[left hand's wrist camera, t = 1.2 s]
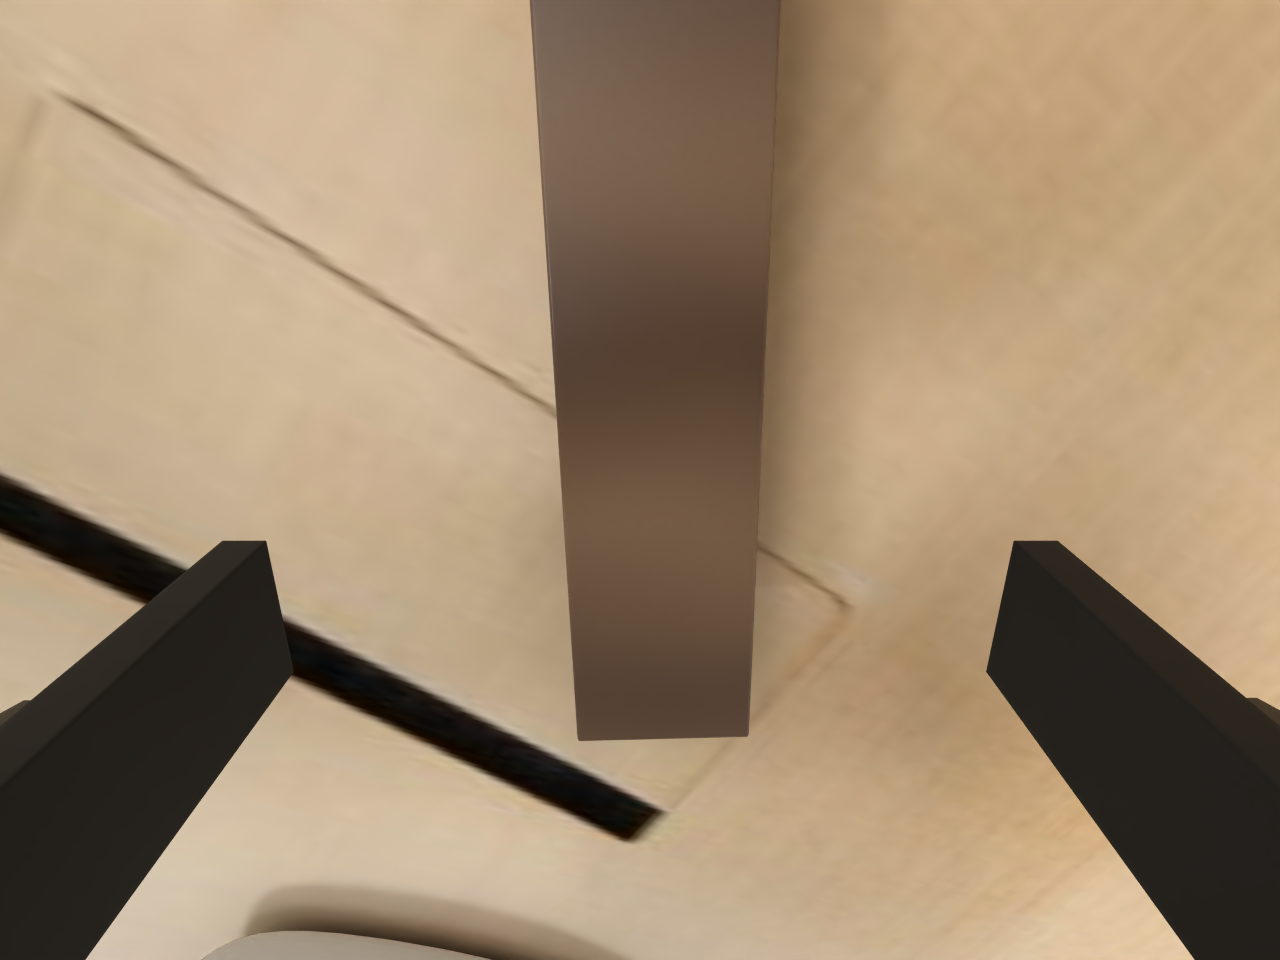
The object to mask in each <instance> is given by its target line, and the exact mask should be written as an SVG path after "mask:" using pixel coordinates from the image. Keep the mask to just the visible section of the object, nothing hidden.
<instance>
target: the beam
mask: <svg viewBox="0 0 1280 960" xmlns="http://www.w3.org/2000/svg"><path fill="white" fill-rule="evenodd" d="M780 3H781V0H530V11H531V26H532V42H533V57H534V73H535V88H536V103H537V119H538V134H539V150H540V165H541V180H542V196H543V211H544V227H545V242H546V258H547V273H548V288H549V304H550V319H551V335H552V350H553V365H554V381H555V396H556V412H557V427H558V443H559V458H560V473H561V489H562V504H563V520H564V535H565V550H566V566H567V581H568V597H569V612H570V627H571V643H572V658H573V674H574V689H575V705H576V720H577V735H578V740H579V741H595V740H635V739H674V738H714V737H747V736H748V734H749V716H750V693H751V670H752V647H753V624H754V601H755V578H756V555H757V532H758V509H759V486H760V463H761V440H762V417H763V394H764V371H765V348H766V325H767V302H768V279H769V256H770V233H771V210H772V187H773V164H774V141H775V118H776V95H777V72H778V49H779V26H780Z"/></svg>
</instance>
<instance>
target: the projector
mask: <svg viewBox="0 0 1280 960" xmlns="http://www.w3.org/2000/svg"><path fill="white" fill-rule="evenodd" d="M202 960H491V959H487V958H482V957H478V956H474V955H469V954H464V953H459V952H455V951H450V950H445V949H440V948H434V947H429V946H423V945H417V944H412V943H406V942H400V941H395V940H389V939H381V938H373V937H365V936H357V935H349V934H341V933H329V932H316V931H277V932H266V933H258V934H254V935H250V936H246V937H243V938H240V939H237V940H234V941H232V942H230V943H228V944H226V945H224V946H222V947H220V948H218V949H216V950H215V951H213V952H212V953H210V954H209V955H207V956H206V957H204V958H203V959H202Z"/></svg>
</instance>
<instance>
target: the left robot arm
mask: <svg viewBox="0 0 1280 960" xmlns="http://www.w3.org/2000/svg"><path fill="white" fill-rule="evenodd" d="M293 672H294V671H293V666H292V661H291V656H290V652H289V647H288V642H287V637H286V633H285V628H284V623H283V619H282V614H281V609H280V604H279V600H278V595H277V590H276V585H275V581H274V576H273V571H272V566H271V562H270V557H269V552H268V547H267V543H266V541H222V542H220V543H219V544H218V545H217V546H216V547H214V548H213V549H212V550H211V551H210V552H208V553H207V554H206V555H205V556H204V557H202V558H201V559H200V560H199V561H198V562H196V563H195V564H194V565H193V566H192V567H190V568H189V569H188V570H187V571H186V572H184V573H183V574H182V575H181V576H180V577H178V578H177V579H176V580H175V581H174V582H172V583H171V584H170V585H169V586H168V587H166V588H165V589H164V590H163V591H162V592H160V593H159V594H158V595H157V596H156V597H154V598H153V599H152V600H151V601H150V602H148V603H147V604H146V605H145V606H144V607H142V608H141V609H140V610H139V611H138V612H136V613H135V614H134V615H133V616H132V617H130V618H129V619H128V620H127V621H126V622H124V623H123V624H122V625H121V626H120V627H118V628H117V629H116V630H115V631H114V632H112V633H111V634H110V635H109V636H108V637H106V638H105V639H104V640H103V641H102V642H100V643H99V644H98V645H97V646H96V647H94V648H93V649H92V650H91V651H90V652H88V653H87V654H86V655H85V656H84V657H82V658H81V659H80V660H79V661H78V662H76V663H75V664H74V665H73V666H72V667H70V668H69V669H68V670H67V671H66V672H64V673H63V674H62V675H61V676H60V677H58V678H57V679H56V680H55V681H54V682H52V683H51V684H50V685H49V686H48V687H46V688H45V689H44V690H43V691H42V692H40V693H39V694H38V695H37V696H36V697H34V698H33V699H32V700H24V701H22V702H20V703H18V704H17V705H15V706H13V707H11V708H9V709H7V710H6V711H4V712H2V713H0V960H85V959H86V958H87V957H88V955H89V954H90V953H91V951H92V950H93V948H94V947H95V946H96V944H97V943H98V941H99V940H100V939H101V937H102V936H103V935H104V933H105V932H106V930H107V929H108V928H109V926H110V925H111V924H112V922H113V921H114V919H115V918H116V917H117V915H118V914H119V912H120V911H121V910H122V908H123V907H124V906H125V904H126V903H127V901H128V900H129V899H130V897H131V896H132V894H133V893H134V892H135V890H136V889H137V888H138V886H139V885H140V883H141V882H142V881H143V879H144V878H145V877H146V875H147V874H148V872H149V871H150V870H151V868H152V867H153V865H154V864H155V863H156V861H157V860H158V859H159V857H160V856H161V854H162V853H163V852H164V850H165V849H166V847H167V846H168V845H169V843H170V842H171V841H172V839H173V838H174V836H175V835H176V834H177V832H178V831H179V830H180V828H181V827H182V825H183V824H184V823H185V821H186V820H187V818H188V817H189V816H190V814H191V813H192V812H193V810H194V809H195V807H196V806H197V805H198V803H199V802H200V800H201V799H202V798H203V796H204V795H205V794H206V792H207V791H208V789H209V788H210V787H211V785H212V784H213V783H214V781H215V780H216V778H217V777H218V776H219V774H220V773H221V771H222V770H223V769H224V767H225V766H226V765H227V763H228V762H229V760H230V759H231V758H232V756H233V755H234V753H235V752H236V751H237V749H238V748H239V747H240V745H241V744H242V742H243V741H244V740H245V738H246V737H247V736H248V734H249V733H250V731H251V730H252V729H253V727H254V726H255V724H256V723H257V722H258V720H259V719H260V718H261V716H262V715H263V713H264V712H265V711H266V709H267V708H268V706H269V705H270V704H271V702H272V701H273V700H274V698H275V697H276V695H277V694H278V693H279V691H280V690H281V689H282V687H283V686H284V684H285V683H286V682H287V680H288V679H289V677H290V676H291V675H292V673H293ZM986 672H987V673H988V675H989V676H990V677H991V679H992V680H993V682H994V683H995V684H996V686H997V687H998V689H999V690H1000V691H1001V693H1002V694H1003V695H1004V697H1005V698H1006V700H1007V701H1008V702H1009V704H1010V705H1011V706H1012V708H1013V709H1014V711H1015V712H1016V713H1017V715H1018V716H1019V718H1020V719H1021V720H1022V722H1023V723H1024V724H1025V726H1026V727H1027V729H1028V730H1029V731H1030V733H1031V734H1032V736H1033V737H1034V738H1035V740H1036V741H1037V742H1038V744H1039V745H1040V747H1041V748H1042V749H1043V751H1044V752H1045V753H1046V755H1047V756H1048V758H1049V759H1050V760H1051V762H1052V763H1053V765H1054V766H1055V767H1056V769H1057V770H1058V771H1059V773H1060V774H1061V776H1062V777H1063V778H1064V780H1065V781H1066V783H1067V784H1068V785H1069V787H1070V788H1071V789H1072V791H1073V792H1074V794H1075V795H1076V796H1077V798H1078V799H1079V800H1080V802H1081V803H1082V805H1083V806H1084V807H1085V809H1086V810H1087V812H1088V813H1089V814H1090V816H1091V817H1092V818H1093V820H1094V821H1095V823H1096V824H1097V825H1098V827H1099V828H1100V830H1101V831H1102V832H1103V834H1104V835H1105V836H1106V838H1107V839H1108V841H1109V842H1110V843H1111V845H1112V846H1113V847H1114V849H1115V850H1116V852H1117V853H1118V854H1119V856H1120V857H1121V859H1122V860H1123V861H1124V863H1125V864H1126V865H1127V867H1128V868H1129V870H1130V871H1131V872H1132V874H1133V875H1134V877H1135V878H1136V879H1137V881H1138V882H1139V883H1140V885H1141V886H1142V888H1143V889H1144V890H1145V892H1146V893H1147V894H1148V896H1149V897H1150V899H1151V900H1152V901H1153V903H1154V904H1155V906H1156V907H1157V908H1158V910H1159V911H1160V912H1161V914H1162V915H1163V917H1164V918H1165V919H1166V921H1167V922H1168V924H1169V925H1170V926H1171V928H1172V929H1173V930H1174V932H1175V933H1176V935H1177V936H1178V937H1179V939H1180V940H1181V941H1182V943H1183V944H1184V946H1185V947H1186V948H1187V950H1188V951H1189V953H1190V954H1191V955H1192V957H1193V958H1194V959H1195V960H1280V710H1278V709H1276V708H1275V707H1273V706H1271V705H1269V704H1267V703H1265V702H1263V701H1262V700H1260V699H1258V698H1246V697H1244V696H1243V695H1242V694H1241V693H1240V692H1238V691H1237V690H1236V689H1235V688H1234V687H1232V686H1231V685H1230V684H1229V683H1228V682H1226V681H1225V680H1224V679H1223V678H1222V677H1220V676H1219V675H1218V674H1217V673H1216V672H1214V671H1213V670H1212V669H1211V668H1210V667H1208V666H1207V665H1206V664H1205V663H1204V662H1202V661H1201V660H1200V659H1199V658H1198V657H1196V656H1195V655H1194V654H1193V653H1192V652H1190V651H1189V650H1188V649H1187V648H1186V647H1184V646H1183V645H1182V644H1181V643H1180V642H1178V641H1177V640H1176V639H1175V638H1174V637H1172V636H1171V635H1170V634H1169V633H1168V632H1166V631H1165V630H1164V629H1163V628H1162V627H1160V626H1159V625H1158V624H1157V623H1156V622H1154V621H1153V620H1152V619H1151V618H1150V617H1148V616H1147V615H1146V614H1145V613H1144V612H1142V611H1141V610H1140V609H1139V608H1138V607H1136V606H1135V605H1134V604H1133V603H1132V602H1130V601H1129V600H1128V599H1127V598H1126V597H1124V596H1123V595H1122V594H1121V593H1120V592H1118V591H1117V590H1116V589H1115V588H1114V587H1112V586H1111V585H1110V584H1109V583H1108V582H1106V581H1105V580H1104V579H1103V578H1102V577H1100V576H1099V575H1098V574H1097V573H1096V572H1094V571H1093V570H1092V569H1091V568H1090V567H1088V566H1087V565H1086V564H1085V563H1084V562H1082V561H1081V560H1080V559H1079V558H1078V557H1076V556H1075V555H1074V554H1073V553H1072V552H1070V551H1069V550H1068V549H1067V548H1066V547H1064V546H1063V545H1062V544H1061V543H1060V542H1058V541H1014V543H1013V547H1012V552H1011V557H1010V562H1009V566H1008V571H1007V576H1006V581H1005V585H1004V590H1003V595H1002V600H1001V604H1000V609H999V614H998V619H997V623H996V628H995V633H994V637H993V642H992V647H991V652H990V656H989V661H988V666H987V671H986Z"/></svg>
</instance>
